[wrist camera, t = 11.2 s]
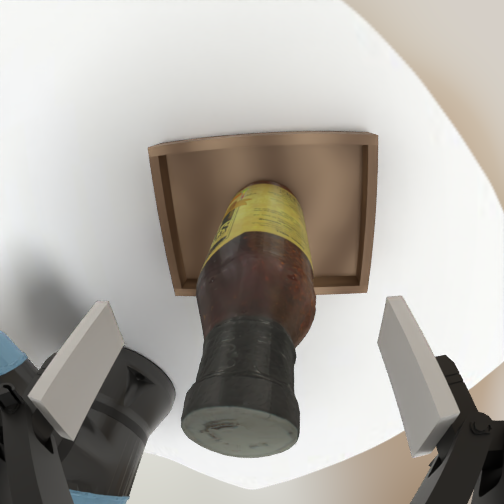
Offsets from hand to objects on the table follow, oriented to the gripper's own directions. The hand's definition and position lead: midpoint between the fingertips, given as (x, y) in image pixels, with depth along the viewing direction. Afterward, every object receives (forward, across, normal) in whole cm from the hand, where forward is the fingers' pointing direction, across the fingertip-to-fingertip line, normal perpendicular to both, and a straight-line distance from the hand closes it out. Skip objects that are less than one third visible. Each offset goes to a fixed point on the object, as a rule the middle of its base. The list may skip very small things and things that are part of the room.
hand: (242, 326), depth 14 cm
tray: (+16, +1, 0) cm, 16 cm away
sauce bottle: (+14, +1, 0) cm, 15 cm away
